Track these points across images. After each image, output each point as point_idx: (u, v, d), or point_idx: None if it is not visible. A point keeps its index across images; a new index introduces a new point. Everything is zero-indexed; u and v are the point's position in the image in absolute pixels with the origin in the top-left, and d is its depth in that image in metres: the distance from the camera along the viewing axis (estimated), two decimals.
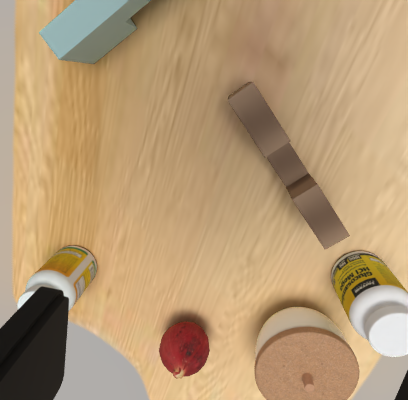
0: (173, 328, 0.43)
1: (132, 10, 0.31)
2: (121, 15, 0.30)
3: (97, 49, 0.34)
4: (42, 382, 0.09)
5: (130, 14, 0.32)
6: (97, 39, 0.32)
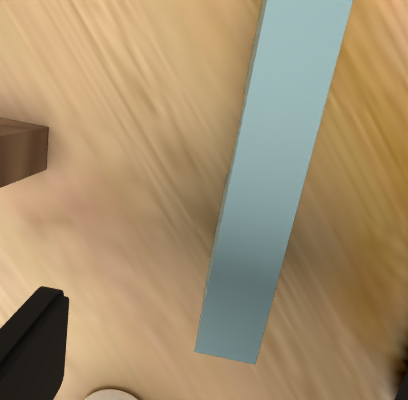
0: None
1: (239, 124, 0.15)
2: (244, 102, 0.14)
3: None
4: (42, 382, 0.09)
5: (241, 113, 0.15)
6: (261, 18, 0.14)
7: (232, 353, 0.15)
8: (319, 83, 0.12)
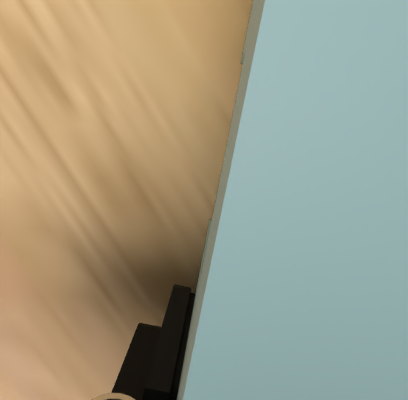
0: None
1: (228, 142, 0.05)
2: (245, 68, 0.04)
3: None
4: None
5: (235, 109, 0.05)
6: None
7: None
8: None
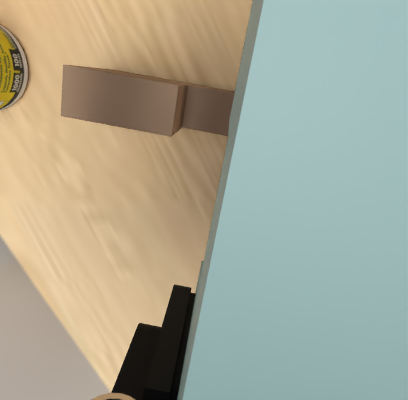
0: None
1: (210, 233, 0.06)
2: (220, 190, 0.04)
3: None
4: None
5: None
6: None
7: None
8: None
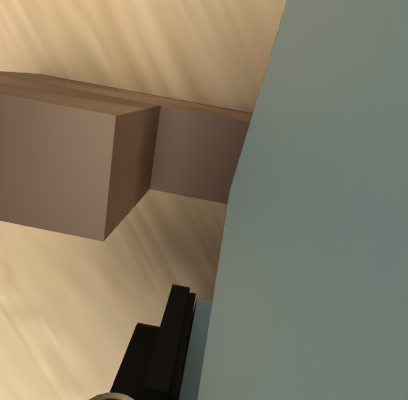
0: None
1: None
2: None
3: (308, 156, 0.02)
4: None
5: None
6: None
7: None
8: None
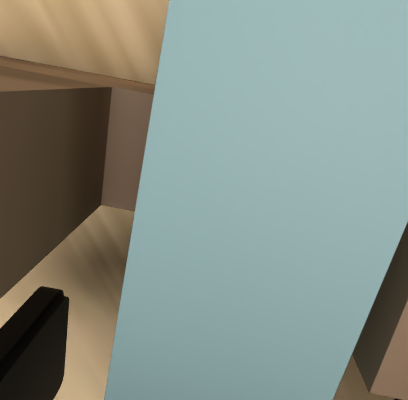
0: None
1: None
2: None
3: None
4: (42, 382, 0.09)
5: None
6: None
7: None
8: None
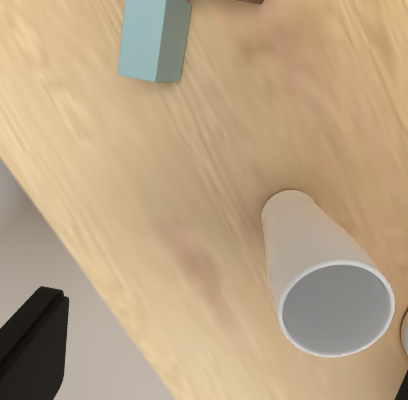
0: None
1: None
2: None
3: None
4: (42, 382, 0.09)
5: None
6: None
7: (140, 74, 0.24)
8: None
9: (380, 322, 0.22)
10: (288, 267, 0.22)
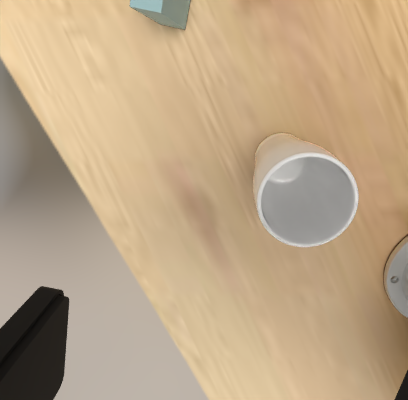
0: None
1: None
2: None
3: None
4: (42, 382, 0.09)
5: None
6: None
7: (148, 6, 0.28)
8: None
9: (347, 216, 0.25)
10: (267, 165, 0.25)
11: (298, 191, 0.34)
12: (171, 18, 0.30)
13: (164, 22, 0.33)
